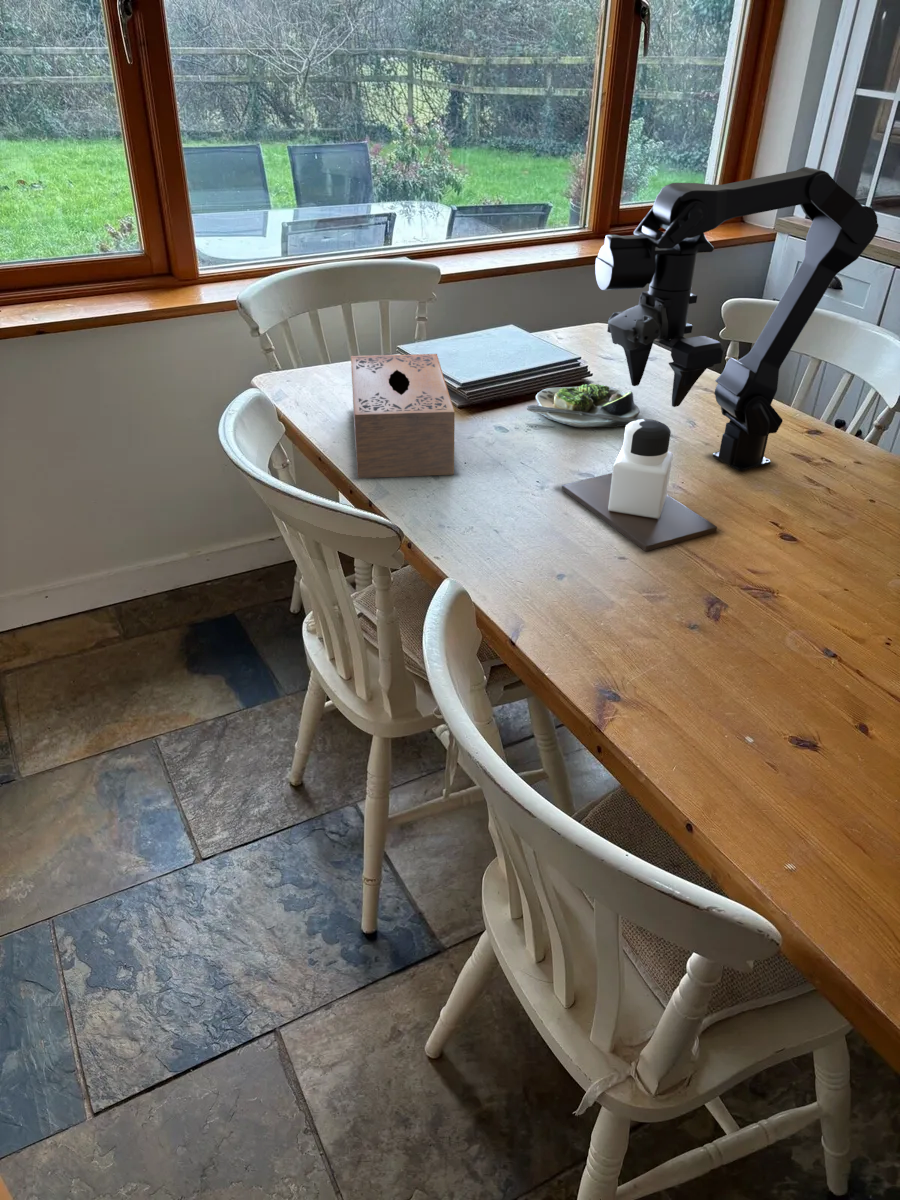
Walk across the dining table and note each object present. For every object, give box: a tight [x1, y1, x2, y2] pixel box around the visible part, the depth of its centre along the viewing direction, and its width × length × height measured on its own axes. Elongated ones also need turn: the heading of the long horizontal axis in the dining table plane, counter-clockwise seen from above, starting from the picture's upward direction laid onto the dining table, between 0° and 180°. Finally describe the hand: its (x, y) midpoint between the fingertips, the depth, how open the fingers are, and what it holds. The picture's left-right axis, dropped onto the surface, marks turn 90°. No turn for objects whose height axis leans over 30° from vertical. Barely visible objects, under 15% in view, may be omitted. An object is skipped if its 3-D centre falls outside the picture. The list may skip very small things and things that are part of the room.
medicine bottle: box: [608, 418, 674, 519], centre depth 124 cm, size 7×7×12 cm
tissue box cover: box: [350, 353, 456, 479], centre depth 144 cm, size 26×14×10 cm, turn 6°
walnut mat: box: [561, 472, 718, 552], centre depth 128 cm, size 12×20×1 cm, turn 27°
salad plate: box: [526, 383, 640, 428], centre depth 157 cm, size 19×18×5 cm
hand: (654, 395), depth 132 cm, fingers open, 9 cm apart
